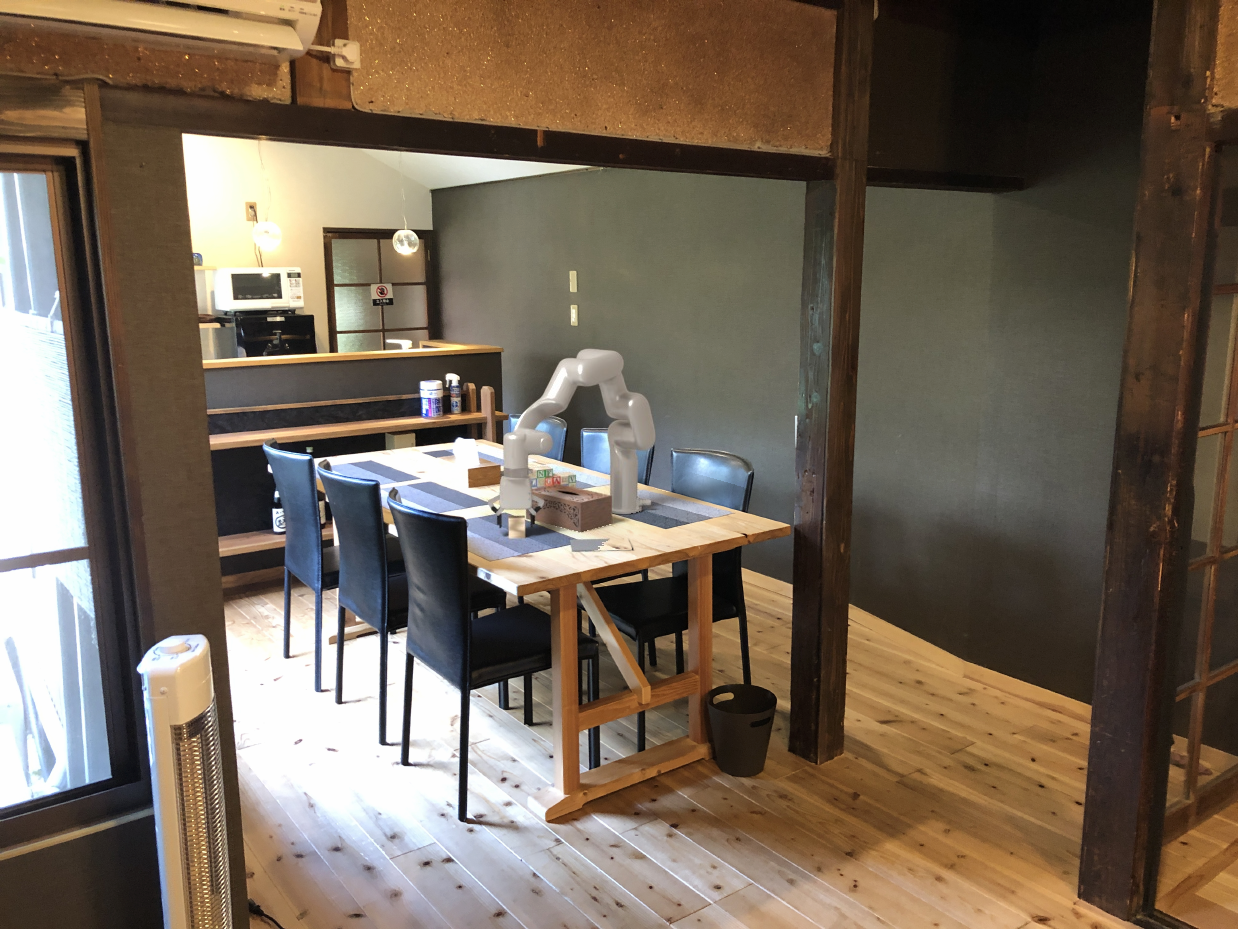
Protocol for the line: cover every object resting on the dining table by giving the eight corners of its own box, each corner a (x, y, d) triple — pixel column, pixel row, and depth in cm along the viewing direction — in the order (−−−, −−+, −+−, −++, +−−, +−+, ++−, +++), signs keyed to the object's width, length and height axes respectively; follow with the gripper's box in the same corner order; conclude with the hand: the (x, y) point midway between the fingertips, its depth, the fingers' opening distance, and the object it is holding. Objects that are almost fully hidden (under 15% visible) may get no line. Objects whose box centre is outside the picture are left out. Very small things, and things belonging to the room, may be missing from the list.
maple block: (524, 534, 295) (524, 515, 294) (525, 538, 290) (524, 519, 289) (508, 534, 294) (508, 515, 293) (508, 538, 289) (508, 519, 288)
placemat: (628, 539, 289) (628, 538, 289) (633, 550, 277) (633, 549, 277) (569, 540, 287) (569, 539, 287) (572, 551, 275) (572, 550, 275)
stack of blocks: (570, 496, 348) (570, 463, 346) (576, 499, 343) (576, 466, 340) (515, 501, 340) (514, 467, 337) (520, 504, 334) (520, 470, 332)
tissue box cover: (526, 519, 314) (525, 490, 312) (557, 512, 324) (557, 483, 322) (580, 533, 297) (580, 502, 295) (611, 525, 307) (611, 495, 305)
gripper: (543, 470, 293) (543, 523, 296) (487, 470, 291) (488, 524, 294) (544, 474, 285) (544, 529, 289) (487, 475, 284) (487, 530, 287)
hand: (516, 526), depth 291 cm, fingers open, 9 cm apart
